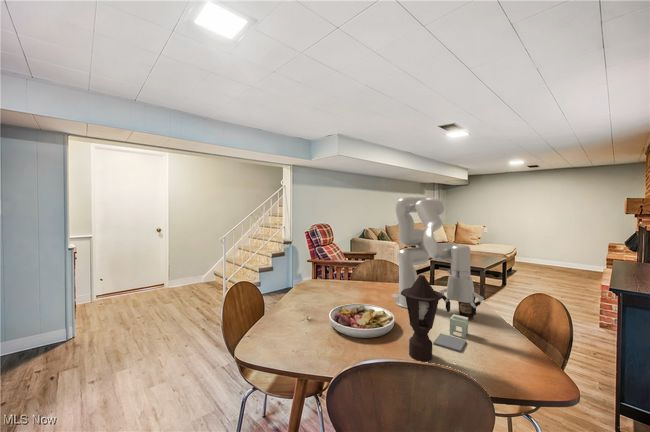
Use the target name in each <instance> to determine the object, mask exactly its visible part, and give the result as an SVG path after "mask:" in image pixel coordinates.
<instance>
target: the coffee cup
mask: <svg viewBox="0 0 650 432" xmlns="http://www.w3.org/2000/svg"><path fill="white" fill-rule="evenodd" d="M474 301H475V302H476V297H475V296H474ZM457 303H458V315H459V316H463V317H468V321H470V320H471V321H472V320H474V317H471V308H472V305H471V304H470V303H465V302H459V301H457Z"/></svg>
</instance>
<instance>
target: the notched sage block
mask: <svg viewBox="0 0 650 432" xmlns="http://www.w3.org/2000/svg"><path fill="white" fill-rule="evenodd" d="M457 327H459V328H461V339H463V340H466V337H467V336H466V335H468V334H469V320H468V317H463V316H459V314H458V315H457V314H452V315H451V317H450V318H449V336H453V335H454V332H456V331H457Z"/></svg>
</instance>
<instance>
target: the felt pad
mask: <svg viewBox="0 0 650 432" xmlns="http://www.w3.org/2000/svg"><path fill="white" fill-rule="evenodd" d="M466 343H467V340H466V339H464V338H460V337H455V336H453V335H448V334H444V333H439V334H438V336H437V338H435V339H434V341H432V345H434V346H438V347H440V348H445V349H448V350H451V351H454V352H458V353H462V351H463V348H464V347H465V345H466Z"/></svg>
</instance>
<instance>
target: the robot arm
mask: <svg viewBox="0 0 650 432" xmlns="http://www.w3.org/2000/svg"><path fill="white" fill-rule="evenodd" d="M396 201H397V202H396V204H395V213H396V218H397V222H398V238H399V239H398V240H399V243H400V244H401V245H402V246H406V248H402V249H399V250H398V252H397V256H396V257H397V262H398V293H397V294H396V293H392V296H391V297H392V299H395V304H396V305H397V306H398V307H401V308H405V309H408V308H407V302H406V297H404V296H403V295H401V292H402V290H404V289H407V288H411V287H412V285H413V284H414V282H415V281H416V280H417V278H418V274H417V270H416V268H414V266H417V265H418V266H419V265H425V264H427V263H428V261H430V260H429V259H430V258H431V259H433V260H434V261H445V260H448V261H449V260H450V269H447V271H446V272H447V274H450V275H449V276H448V279H447V285H446V288H444V289H441V290H439V291H438V292H439V293H442V299H441V300H443V301H444V303H445V310H446V312H447V313H449V312H450V311H451V301H454V302H455V301H456V302H458V301H459V302H465V303H470V304H471V305H472V308H471V317H473V318H474V317H475V316H476V315H477V307H478V306H480V305H481V304H482V302H483V300H484V299H485V298H484V297H483V296H482V295H480V294H478V293H477V292H475V288H474V281H473V278H472V277H471V247H470V246H469V245H465V244H458V243H455V242H439V243H438V242H437V240H436V238H435V236H434V232H436V231H437V230H439V229H441V227H442V226H443V220H442V218H441V217H440V216H441V215H442V214H443V213H444V211H445V205H444V203H443V201H441V200H440V199H438V198H433V197H432V198H431V197H426V196H425V197H421V196H404V197H401V198H399V199H398V200H396ZM411 213H417V215H418V217H419V219H420V220H421V223H422V225H423V227H424V229H425V230H424V229H423V228H419V227H418V228H416V227H415V221H414V218H413V216H412V215H411ZM411 246H415V247H411ZM445 293H446V295H445ZM474 296H475V297H476V298H477V300H478V301H476V300H475V301H474ZM476 298H475V299H476Z"/></svg>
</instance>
